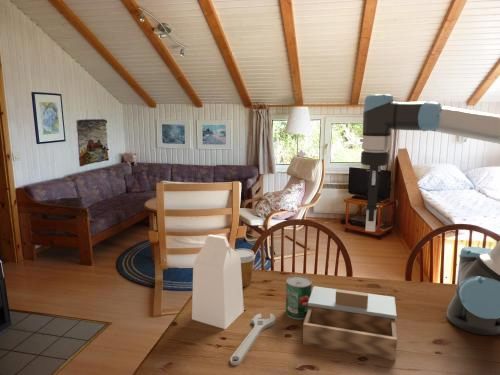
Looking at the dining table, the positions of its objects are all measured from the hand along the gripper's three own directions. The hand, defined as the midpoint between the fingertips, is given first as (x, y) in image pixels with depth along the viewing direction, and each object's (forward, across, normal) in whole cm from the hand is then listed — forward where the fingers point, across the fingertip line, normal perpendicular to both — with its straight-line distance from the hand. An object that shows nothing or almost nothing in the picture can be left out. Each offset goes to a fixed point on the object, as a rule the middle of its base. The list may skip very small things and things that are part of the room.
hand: (370, 230), depth 114 cm
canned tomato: (+29, +3, -20) cm, 35 cm away
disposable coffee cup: (+29, -12, -44) cm, 54 cm away
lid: (+22, +4, -4) cm, 23 cm away
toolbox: (+28, +14, -4) cm, 32 cm away
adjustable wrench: (+29, +20, -31) cm, 47 cm away
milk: (+29, +12, -44) cm, 54 cm away
